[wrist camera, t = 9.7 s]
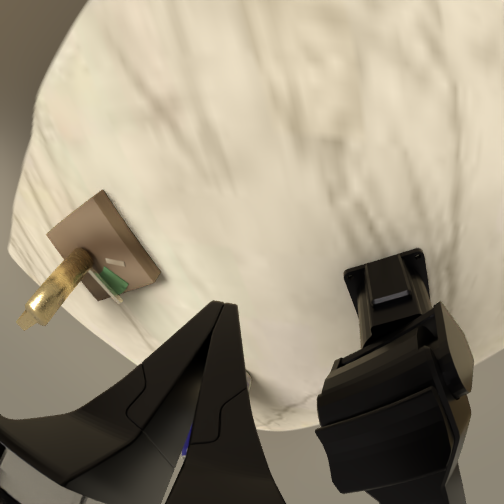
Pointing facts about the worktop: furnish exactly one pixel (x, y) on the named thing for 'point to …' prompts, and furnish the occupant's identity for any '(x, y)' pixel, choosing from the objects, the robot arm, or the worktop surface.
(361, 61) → the worktop surface
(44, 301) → the dial handle
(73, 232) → the dial board
